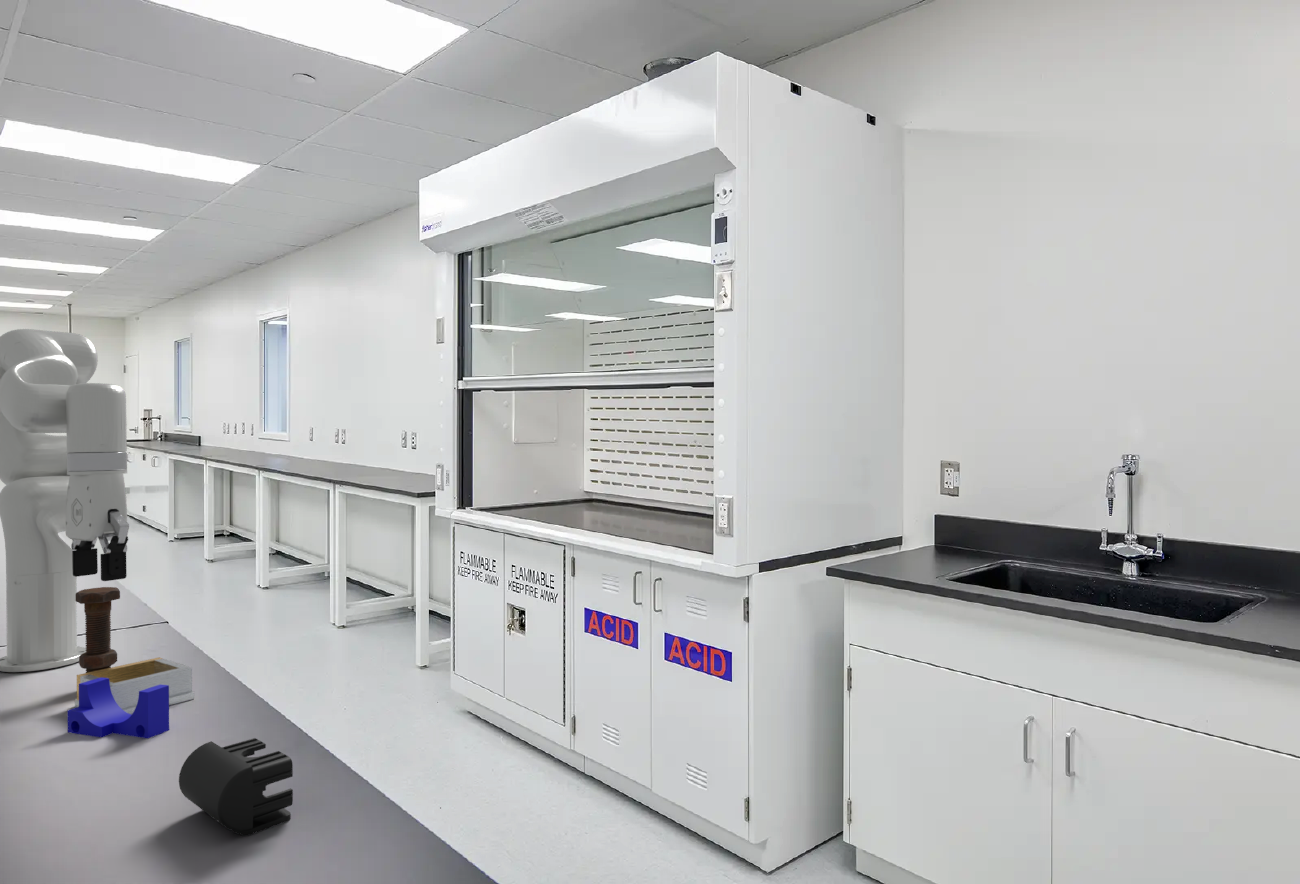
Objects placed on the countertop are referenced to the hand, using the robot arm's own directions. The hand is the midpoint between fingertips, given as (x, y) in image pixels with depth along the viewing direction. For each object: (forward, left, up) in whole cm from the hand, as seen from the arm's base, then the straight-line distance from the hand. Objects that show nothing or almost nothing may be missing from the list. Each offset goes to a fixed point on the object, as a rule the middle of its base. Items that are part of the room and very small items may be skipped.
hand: (99, 577), depth 120 cm
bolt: (-1, 0, -17) cm, 17 cm away
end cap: (+58, -11, -17) cm, 62 cm away
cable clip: (+22, -6, -17) cm, 29 cm away
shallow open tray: (+11, 0, -17) cm, 20 cm away
